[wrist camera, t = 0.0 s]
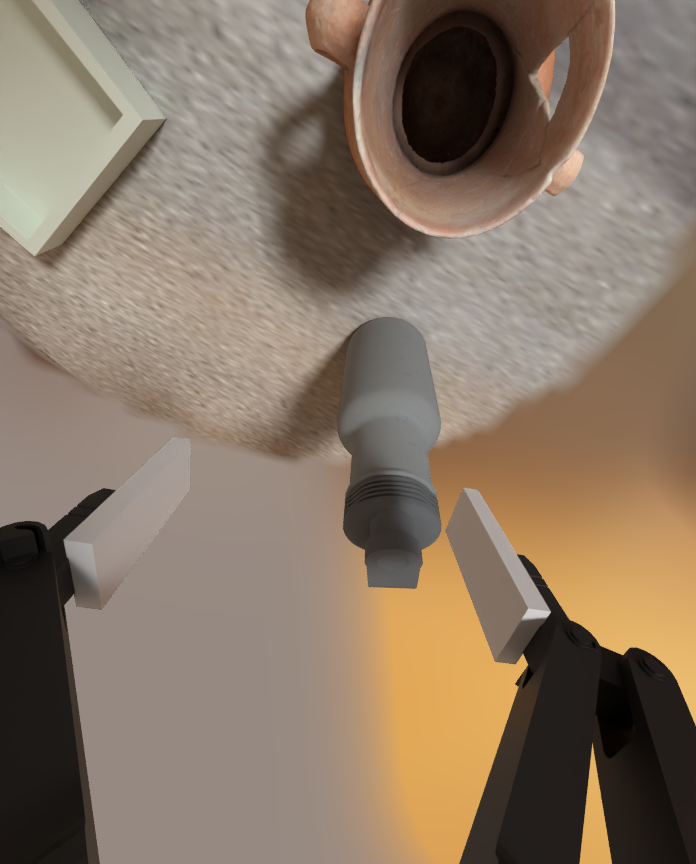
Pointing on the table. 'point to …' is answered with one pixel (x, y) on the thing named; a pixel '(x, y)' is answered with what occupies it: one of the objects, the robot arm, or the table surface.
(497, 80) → the ceramic jug
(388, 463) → the water bottle
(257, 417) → the table surface
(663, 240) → the table surface
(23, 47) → the tray
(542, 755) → the robot arm
